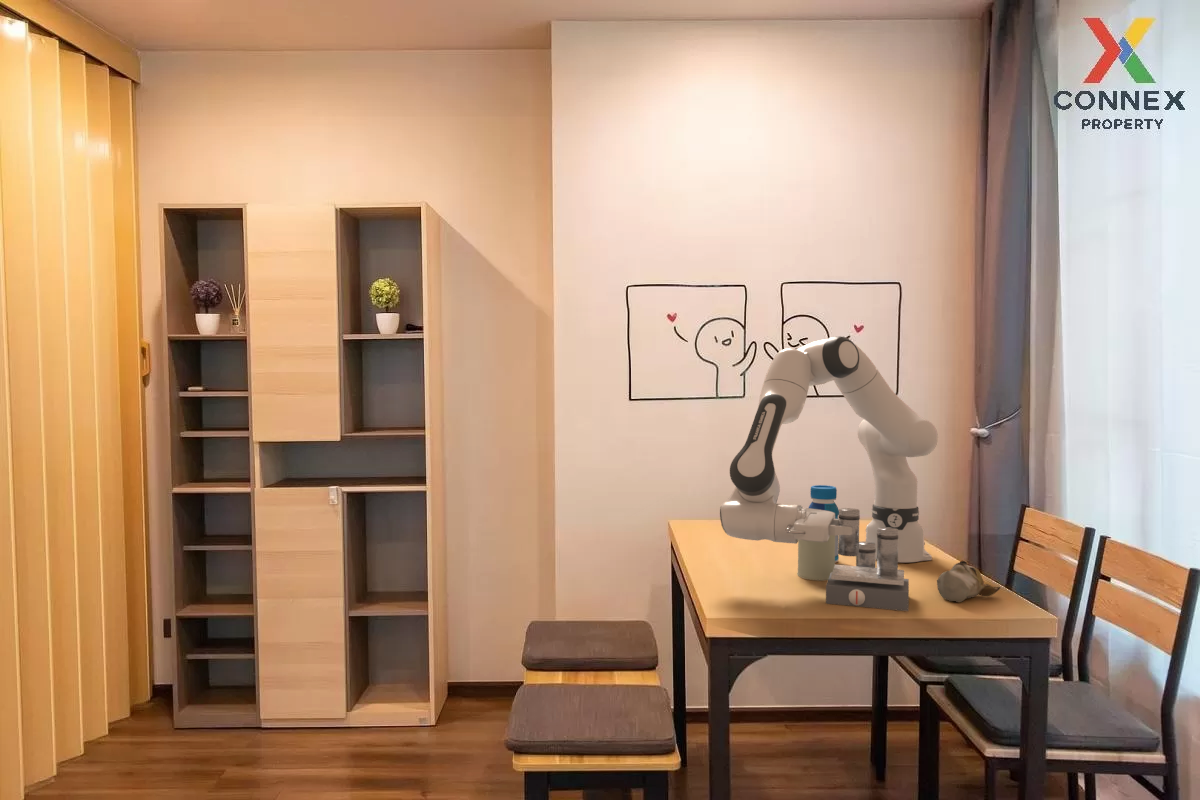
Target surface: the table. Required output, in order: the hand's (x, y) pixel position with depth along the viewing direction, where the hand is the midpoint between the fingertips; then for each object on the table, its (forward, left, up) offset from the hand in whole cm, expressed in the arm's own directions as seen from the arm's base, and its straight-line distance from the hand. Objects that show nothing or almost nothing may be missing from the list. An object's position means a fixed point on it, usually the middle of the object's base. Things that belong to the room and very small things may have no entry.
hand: (853, 528), depth 184 cm
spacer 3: (0, +7, -10) cm, 12 cm away
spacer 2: (-13, +2, -16) cm, 21 cm away
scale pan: (0, +3, -11) cm, 11 cm away
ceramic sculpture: (-10, +23, -16) cm, 30 cm away
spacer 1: (0, -1, -6) cm, 6 cm away
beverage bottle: (-35, -10, -16) cm, 40 cm away
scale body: (0, +3, -16) cm, 16 cm away
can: (-18, -10, -16) cm, 26 cm away
